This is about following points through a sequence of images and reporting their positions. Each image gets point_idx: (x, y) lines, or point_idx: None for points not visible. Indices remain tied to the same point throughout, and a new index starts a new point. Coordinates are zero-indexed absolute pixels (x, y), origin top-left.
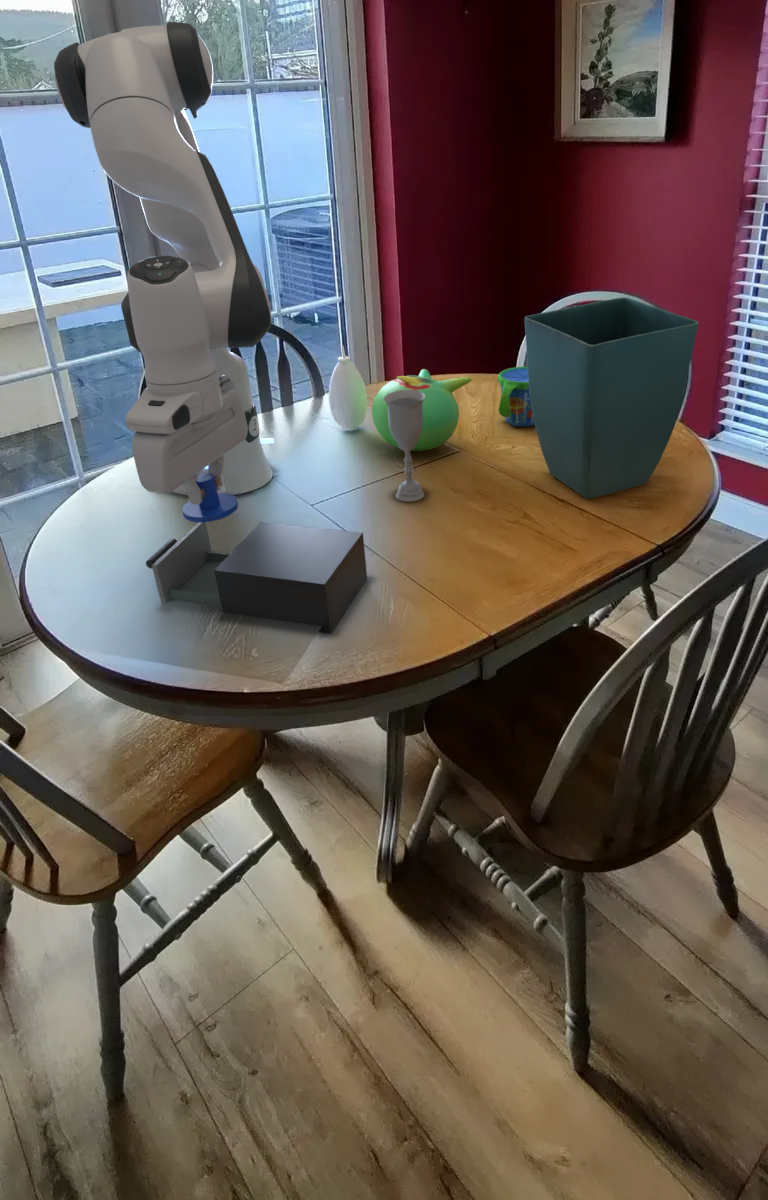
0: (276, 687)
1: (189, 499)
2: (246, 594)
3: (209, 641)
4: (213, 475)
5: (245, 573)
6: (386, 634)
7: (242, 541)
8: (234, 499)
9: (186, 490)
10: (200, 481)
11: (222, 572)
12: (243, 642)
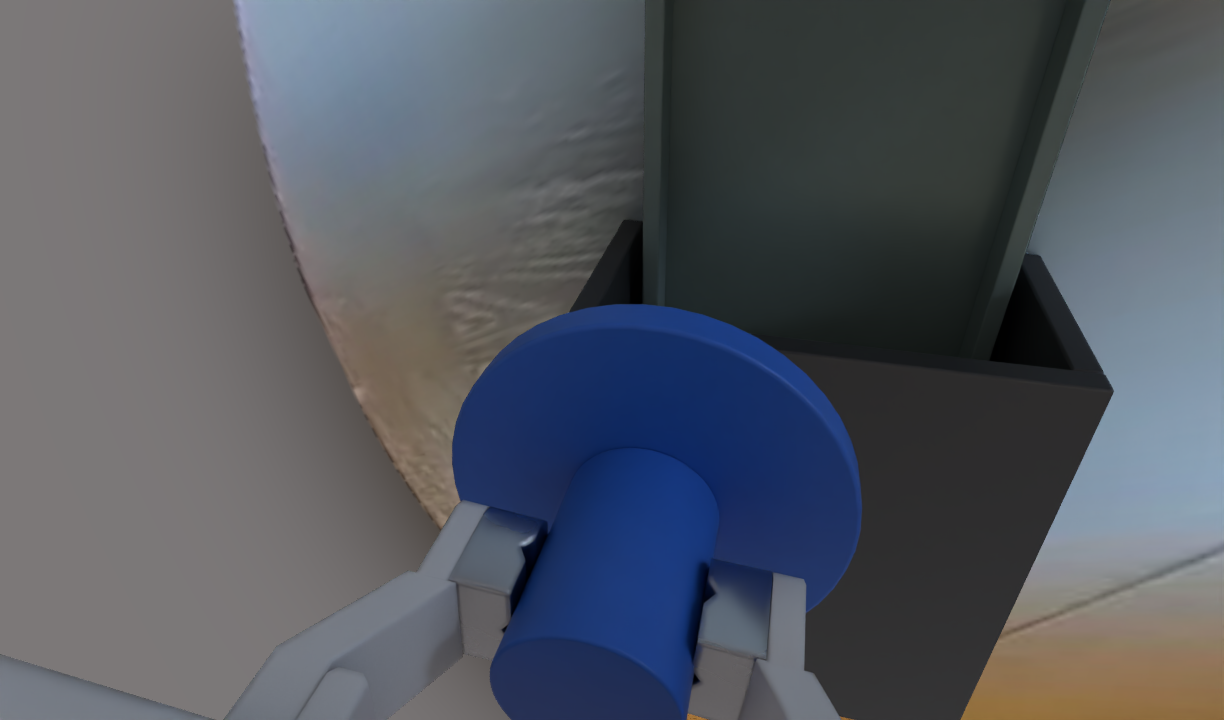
0: (398, 449)
1: (451, 517)
2: None
3: (491, 224)
4: (750, 705)
5: None
6: None
7: (856, 364)
8: None
9: (392, 587)
10: (501, 699)
11: None
12: (522, 327)
